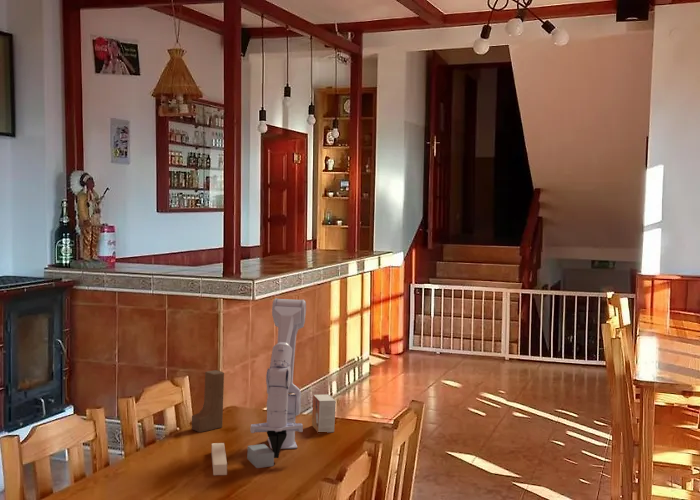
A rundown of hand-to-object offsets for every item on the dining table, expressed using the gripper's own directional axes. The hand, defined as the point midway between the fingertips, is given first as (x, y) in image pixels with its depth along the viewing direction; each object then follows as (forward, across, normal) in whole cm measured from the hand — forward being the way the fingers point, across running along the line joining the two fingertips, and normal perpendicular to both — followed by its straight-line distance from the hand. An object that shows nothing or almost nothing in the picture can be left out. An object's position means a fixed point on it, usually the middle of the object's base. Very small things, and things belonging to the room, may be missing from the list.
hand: (275, 456), depth 215 cm
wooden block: (+2, -18, +33) cm, 37 cm away
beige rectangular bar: (+1, -16, 0) cm, 16 cm away
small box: (+2, +19, +29) cm, 35 cm away
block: (+2, -4, 0) cm, 5 cm away
